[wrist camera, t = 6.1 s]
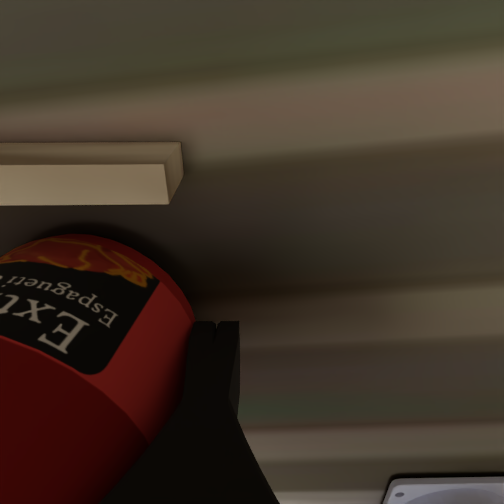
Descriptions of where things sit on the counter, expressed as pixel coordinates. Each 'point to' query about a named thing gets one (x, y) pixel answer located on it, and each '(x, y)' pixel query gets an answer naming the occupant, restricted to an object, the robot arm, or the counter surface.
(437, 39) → the counter surface
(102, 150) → the bracket
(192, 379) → the robot arm
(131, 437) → the canned food
